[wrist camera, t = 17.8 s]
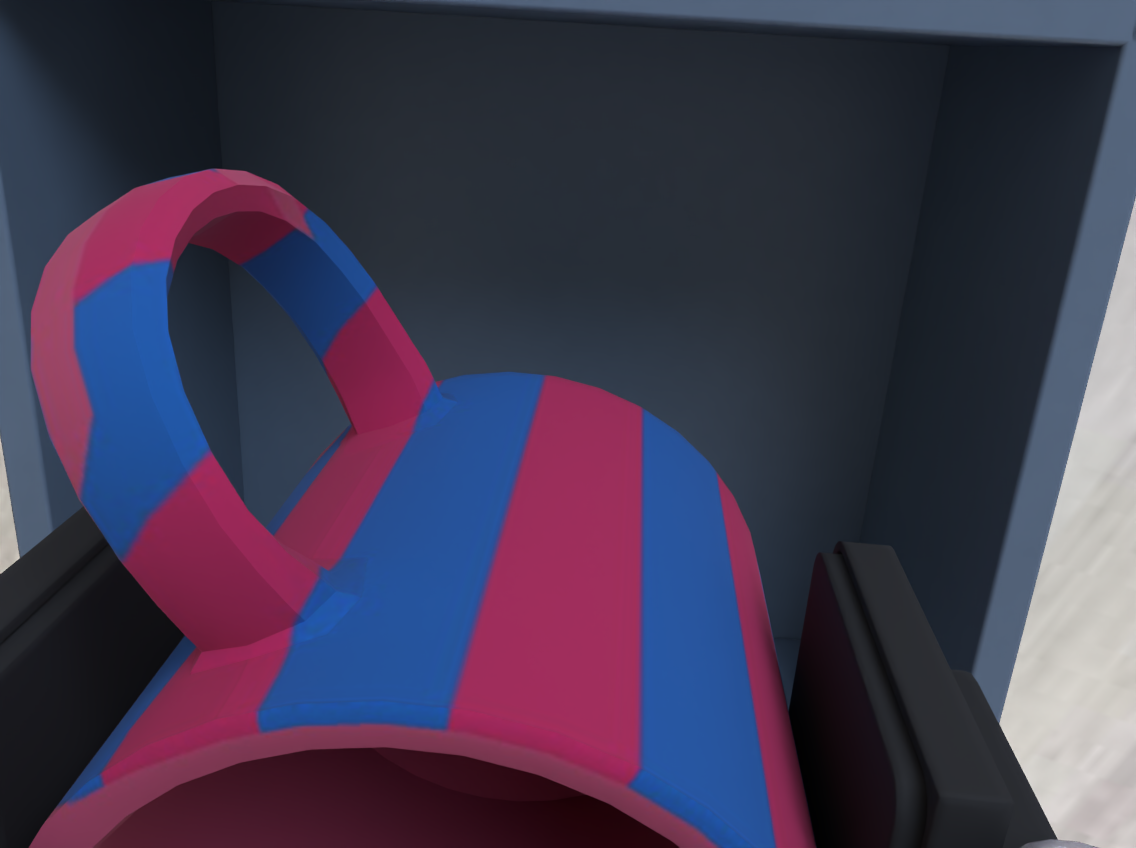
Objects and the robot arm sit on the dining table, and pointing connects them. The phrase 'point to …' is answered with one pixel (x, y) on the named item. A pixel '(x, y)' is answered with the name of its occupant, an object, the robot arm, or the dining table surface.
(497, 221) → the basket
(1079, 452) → the dining table surface
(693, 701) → the cup
